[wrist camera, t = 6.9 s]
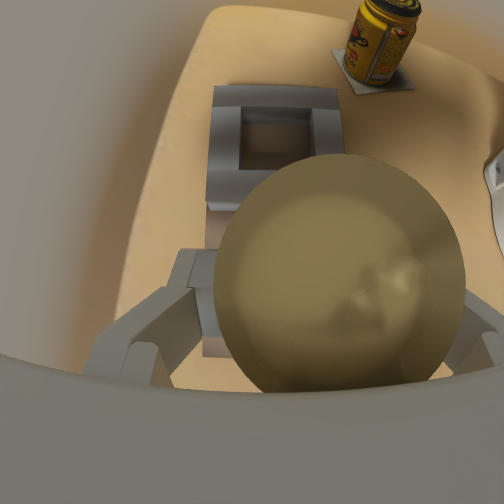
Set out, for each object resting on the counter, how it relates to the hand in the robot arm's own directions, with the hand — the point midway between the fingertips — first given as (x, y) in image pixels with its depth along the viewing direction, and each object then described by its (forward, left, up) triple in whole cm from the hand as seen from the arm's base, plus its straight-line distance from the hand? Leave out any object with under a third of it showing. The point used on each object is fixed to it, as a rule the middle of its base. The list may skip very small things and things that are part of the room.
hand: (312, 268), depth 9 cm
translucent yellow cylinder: (0, 0, -6) cm, 6 cm away
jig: (-5, -4, -18) cm, 19 cm away
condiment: (-27, -8, -19) cm, 34 cm away
